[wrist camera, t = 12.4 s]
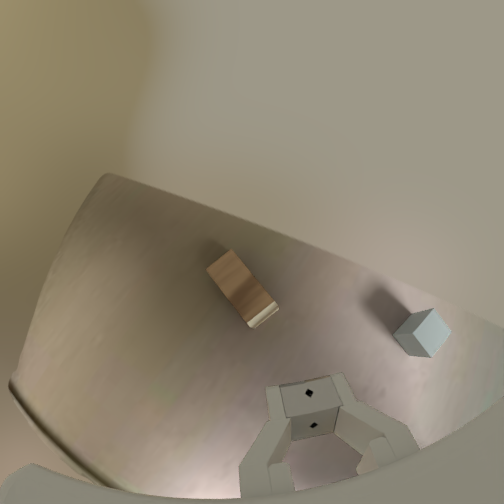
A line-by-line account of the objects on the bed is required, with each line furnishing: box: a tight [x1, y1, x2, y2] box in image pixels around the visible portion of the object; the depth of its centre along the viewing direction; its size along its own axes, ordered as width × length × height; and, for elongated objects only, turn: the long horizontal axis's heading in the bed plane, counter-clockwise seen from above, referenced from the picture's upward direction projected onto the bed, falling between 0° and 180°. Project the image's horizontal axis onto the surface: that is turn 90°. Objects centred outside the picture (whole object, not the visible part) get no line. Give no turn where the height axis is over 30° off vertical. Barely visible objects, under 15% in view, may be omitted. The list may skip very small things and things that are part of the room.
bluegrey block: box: [393, 308, 451, 358], centre depth 34 cm, size 5×5×8 cm
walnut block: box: [206, 249, 279, 329], centre depth 42 cm, size 5×5×11 cm
